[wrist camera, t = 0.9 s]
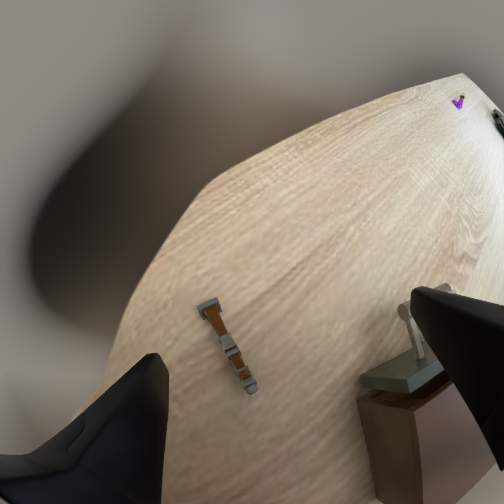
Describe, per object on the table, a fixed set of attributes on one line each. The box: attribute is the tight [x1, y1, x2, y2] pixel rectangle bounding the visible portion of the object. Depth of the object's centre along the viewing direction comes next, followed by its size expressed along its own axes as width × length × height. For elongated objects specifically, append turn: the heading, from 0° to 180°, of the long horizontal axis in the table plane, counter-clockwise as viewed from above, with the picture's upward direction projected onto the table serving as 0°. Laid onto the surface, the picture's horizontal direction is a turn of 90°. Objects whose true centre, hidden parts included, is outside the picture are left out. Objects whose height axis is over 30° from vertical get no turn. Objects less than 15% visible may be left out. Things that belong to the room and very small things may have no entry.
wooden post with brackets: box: [196, 297, 258, 395], centre depth 20 cm, size 2×8×4 cm, turn 27°
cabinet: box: [356, 380, 496, 504], centre depth 16 cm, size 14×14×9 cm
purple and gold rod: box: [452, 93, 465, 109], centre depth 46 cm, size 3×1×16 cm
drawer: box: [361, 283, 451, 406], centre depth 17 cm, size 17×12×7 cm
